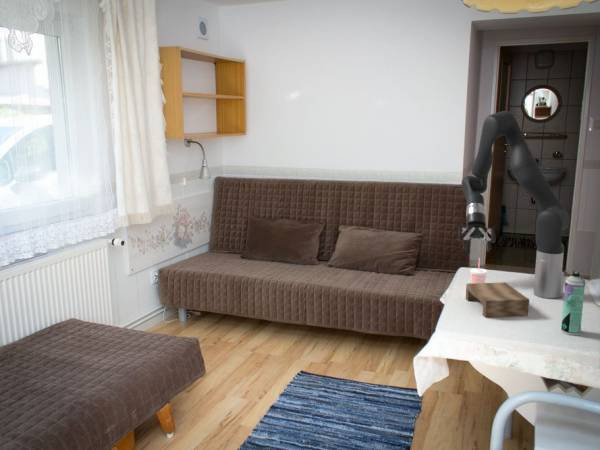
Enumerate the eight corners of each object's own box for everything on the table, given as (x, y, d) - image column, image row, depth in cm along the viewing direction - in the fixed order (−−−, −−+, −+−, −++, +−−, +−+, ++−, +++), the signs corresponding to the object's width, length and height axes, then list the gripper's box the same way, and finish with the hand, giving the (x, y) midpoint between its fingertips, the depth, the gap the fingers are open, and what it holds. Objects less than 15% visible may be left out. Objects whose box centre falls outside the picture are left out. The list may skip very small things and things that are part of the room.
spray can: (576, 328, 178) (581, 269, 174) (582, 335, 173) (589, 274, 169) (558, 328, 179) (563, 269, 175) (564, 335, 173) (570, 274, 169)
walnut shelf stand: (504, 297, 208) (505, 282, 207) (528, 316, 190) (529, 299, 188) (465, 298, 207) (466, 283, 206) (485, 317, 189) (486, 300, 188)
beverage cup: (487, 295, 211) (490, 259, 208) (471, 295, 211) (473, 260, 208) (482, 290, 217) (484, 255, 214) (467, 290, 217) (469, 255, 214)
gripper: (458, 210, 226) (459, 244, 218) (495, 211, 223) (497, 246, 215) (457, 221, 232) (457, 254, 224) (492, 221, 230) (494, 255, 221)
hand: (477, 250), depth 219 cm, fingers open, 8 cm apart
